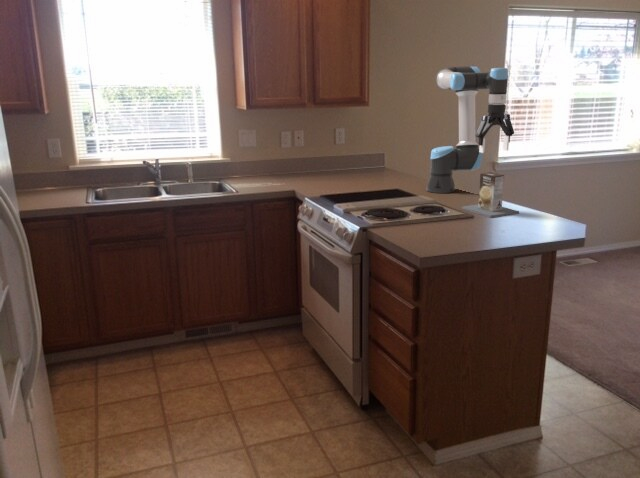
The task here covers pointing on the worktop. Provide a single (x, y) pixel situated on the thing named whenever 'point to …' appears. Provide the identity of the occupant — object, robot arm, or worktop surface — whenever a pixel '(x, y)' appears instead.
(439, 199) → the worktop surface
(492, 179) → the coffee box
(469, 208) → the mat
